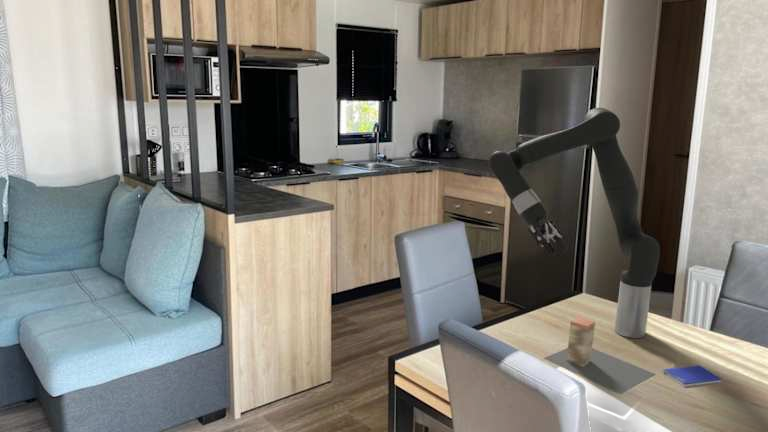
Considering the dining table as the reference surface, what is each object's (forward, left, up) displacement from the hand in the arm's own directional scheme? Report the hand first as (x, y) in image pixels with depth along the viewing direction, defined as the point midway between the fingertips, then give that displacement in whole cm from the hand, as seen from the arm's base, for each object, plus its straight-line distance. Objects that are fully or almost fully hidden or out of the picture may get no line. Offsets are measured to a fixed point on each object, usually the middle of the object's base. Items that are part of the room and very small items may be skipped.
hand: (559, 253), depth 168 cm
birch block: (+3, +12, -29) cm, 31 cm away
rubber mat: (+1, +17, -29) cm, 34 cm away
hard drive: (-16, +35, -30) cm, 49 cm away
